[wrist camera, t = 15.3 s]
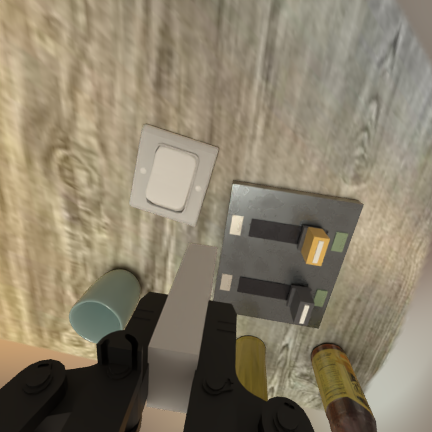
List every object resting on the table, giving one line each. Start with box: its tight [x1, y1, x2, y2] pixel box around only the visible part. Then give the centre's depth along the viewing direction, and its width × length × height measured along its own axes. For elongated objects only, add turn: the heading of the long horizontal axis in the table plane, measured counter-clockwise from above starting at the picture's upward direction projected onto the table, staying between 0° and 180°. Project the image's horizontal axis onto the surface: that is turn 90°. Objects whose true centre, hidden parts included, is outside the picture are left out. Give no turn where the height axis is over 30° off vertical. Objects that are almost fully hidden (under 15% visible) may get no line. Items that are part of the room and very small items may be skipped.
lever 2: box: [286, 285, 315, 326], centre depth 39 cm, size 4×3×4 cm
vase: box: [235, 336, 268, 401], centre depth 43 cm, size 6×6×14 cm
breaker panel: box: [213, 181, 364, 329], centre depth 41 cm, size 22×18×2 cm
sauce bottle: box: [311, 344, 377, 432], centre depth 39 cm, size 7×6×20 cm
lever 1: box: [297, 225, 330, 266], centre depth 36 cm, size 4×3×4 cm
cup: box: [69, 269, 140, 343], centre depth 42 cm, size 8×8×10 cm
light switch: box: [129, 124, 219, 226], centre depth 38 cm, size 11×4×13 cm
